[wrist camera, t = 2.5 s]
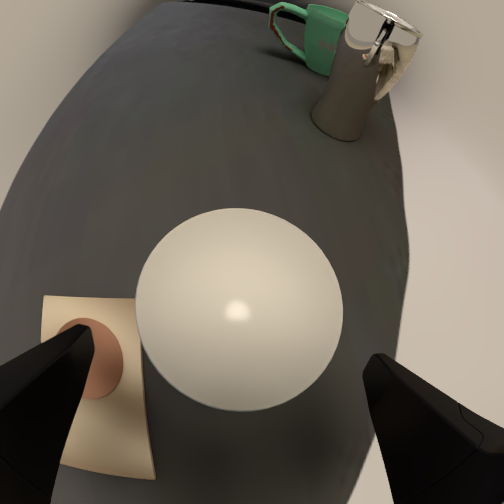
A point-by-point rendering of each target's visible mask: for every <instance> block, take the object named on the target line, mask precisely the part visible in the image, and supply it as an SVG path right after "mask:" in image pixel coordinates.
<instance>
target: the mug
mask: <svg viewBox="0 0 504 504" xmlns="http://www.w3.org/2000/svg"><path fill="white" fill-rule="evenodd" d="M280 10H283V11H289V12H292V13H294V14H296V15H298V16H300V17H301V18H303V19H305V20H306V28H305V36H304V39H305V53H304V52H303V51H301V50H300V49H298V48H297V47H295V46H294V45H292V44H291V43H289V42H288V41H287V40H286V39H285V37H284V36H283V34H282V32H281V31H280V29H279V28H278V26H277V25H276V23H275V19H276V15H277V13H278V12H279V11H280ZM347 17H348V14H346V13H344V12H341V11H338V10H335V9H332V8H329V7H325V6H321V5H315V4H309V5H308V7H307V11H306V10H304V9H302V8H300V7H298V6H295V5H293V4H289V3H285V2H280V3H278V4H276V5H274V6H272V7H270V11H269V29H270V30H271V31H272V32H273V34H274V35H275V36H276V38H277V39H278V40H279V42H280V43H281V44H282V46H283V47H284V48H285V49H287V50H288V51H290V52H291V53H293V54H294V55H296V56H297V57H299V58H300V59H302V60H303V61H304V62H306V65H307V66H308V67H309V68H310V69H311V70H313V71H315V72H317V73H319V74H322V75H325V76H329V74H330V69H331V64H332V59H333V54H334V50H335V46H336V43H337V40H338V37H339V34H340V32H341V29H342V27H343V25H344V23H345V21H346V19H347Z"/></svg>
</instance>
